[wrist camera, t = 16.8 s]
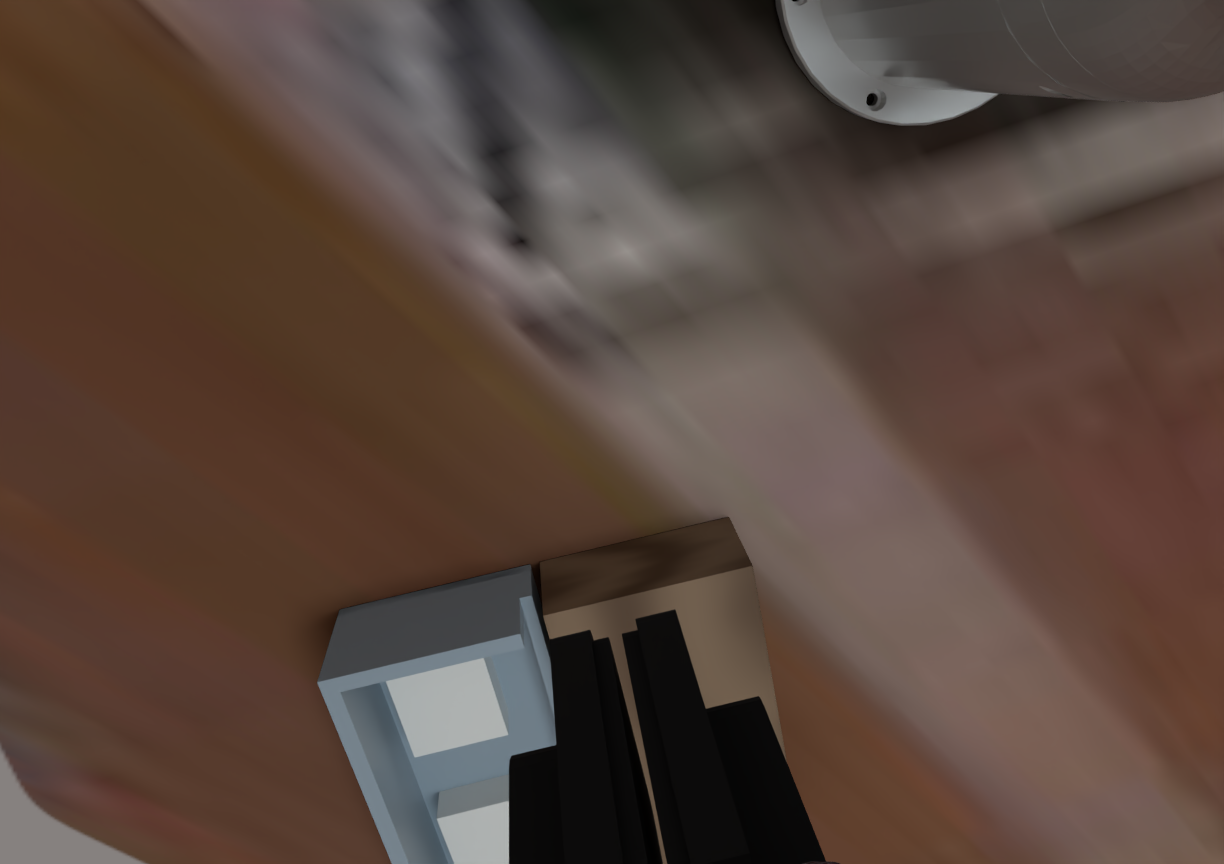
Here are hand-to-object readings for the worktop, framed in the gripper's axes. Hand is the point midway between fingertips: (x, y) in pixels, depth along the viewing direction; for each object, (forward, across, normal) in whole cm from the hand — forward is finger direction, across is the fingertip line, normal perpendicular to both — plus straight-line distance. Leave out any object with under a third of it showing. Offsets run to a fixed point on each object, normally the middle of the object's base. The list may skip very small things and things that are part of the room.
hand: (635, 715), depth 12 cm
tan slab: (+32, -1, +26) cm, 41 cm away
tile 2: (+30, +10, +30) cm, 44 cm away
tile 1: (+30, +10, +21) cm, 38 cm away
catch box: (+32, +10, +26) cm, 42 cm away
